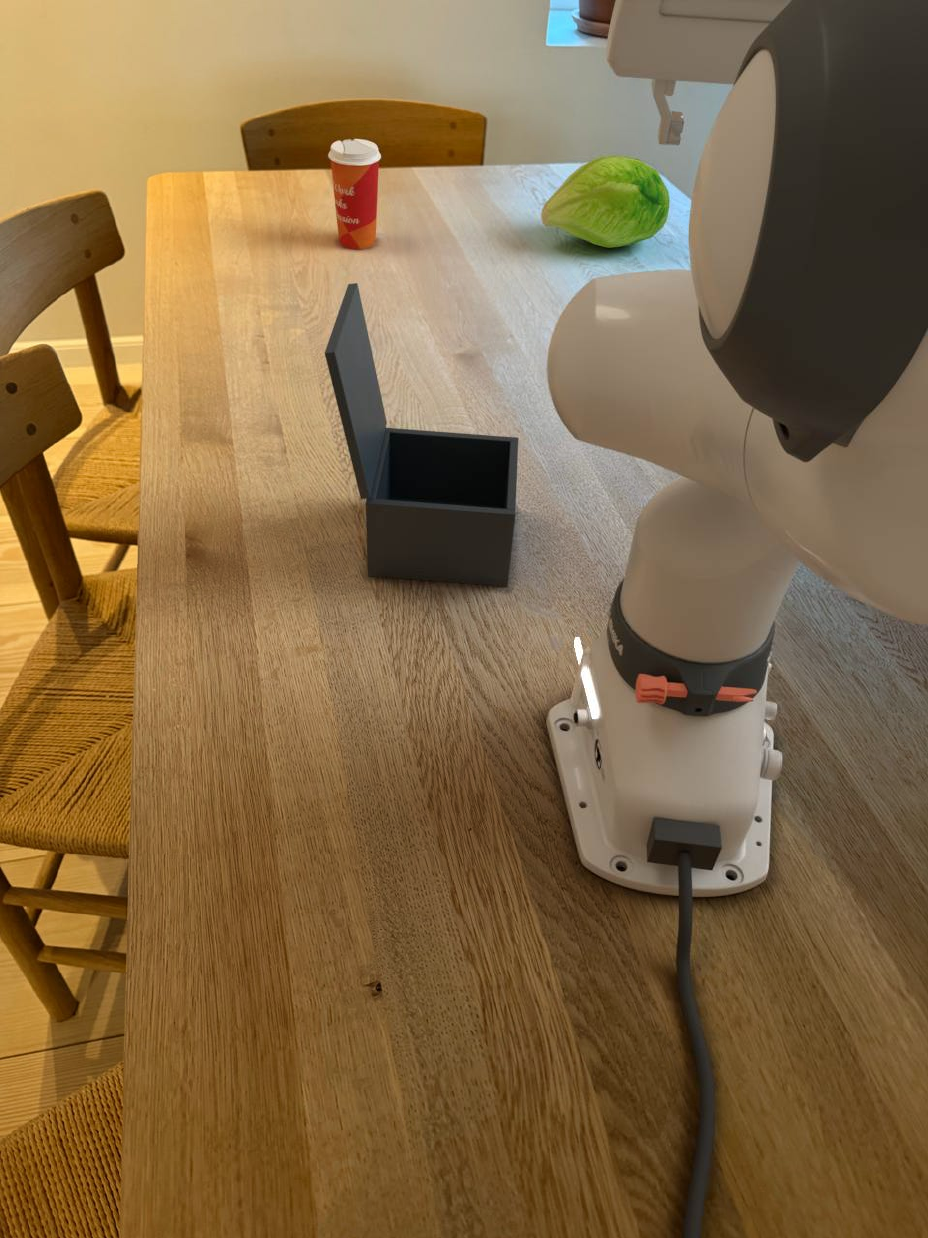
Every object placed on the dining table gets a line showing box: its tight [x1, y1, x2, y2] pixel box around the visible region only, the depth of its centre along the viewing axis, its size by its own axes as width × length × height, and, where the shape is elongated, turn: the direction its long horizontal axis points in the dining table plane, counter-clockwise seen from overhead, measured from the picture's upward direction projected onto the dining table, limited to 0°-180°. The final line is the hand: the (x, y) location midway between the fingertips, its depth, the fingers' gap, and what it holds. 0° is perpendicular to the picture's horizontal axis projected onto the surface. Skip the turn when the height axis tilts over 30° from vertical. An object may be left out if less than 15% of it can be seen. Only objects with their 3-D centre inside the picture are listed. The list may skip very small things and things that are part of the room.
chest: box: [365, 427, 519, 588], centre depth 94 cm, size 14×13×9 cm
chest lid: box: [324, 282, 388, 500], centre depth 86 cm, size 14×13×1 cm
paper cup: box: [327, 138, 382, 250], centre depth 143 cm, size 8×8×14 cm
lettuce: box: [540, 155, 670, 249], centre depth 147 cm, size 15×20×14 cm
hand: (732, 146), depth 70 cm, fingers open, 8 cm apart
